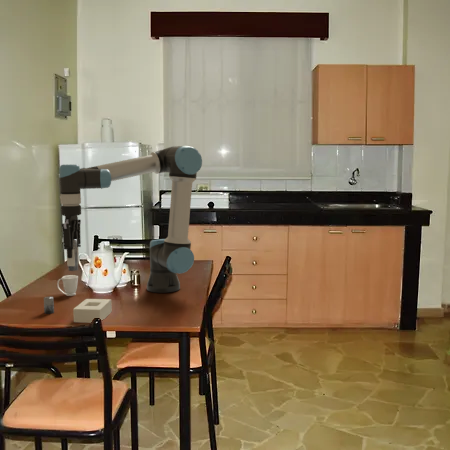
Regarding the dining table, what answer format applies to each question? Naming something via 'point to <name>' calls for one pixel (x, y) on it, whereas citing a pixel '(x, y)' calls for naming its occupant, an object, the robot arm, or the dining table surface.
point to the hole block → (92, 310)
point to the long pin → (74, 268)
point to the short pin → (48, 305)
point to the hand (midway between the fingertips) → (73, 264)
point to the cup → (69, 284)
